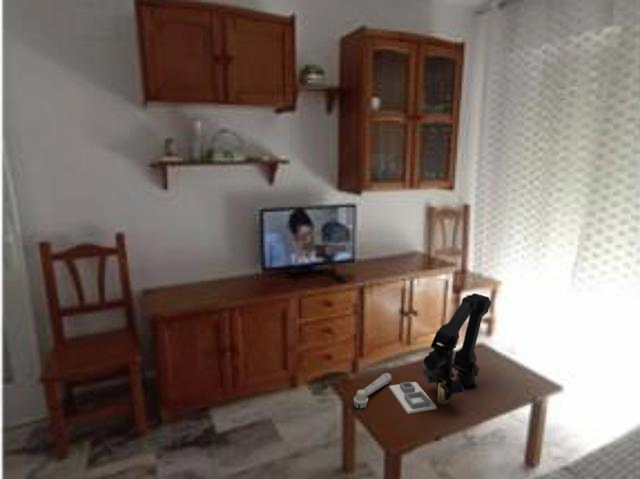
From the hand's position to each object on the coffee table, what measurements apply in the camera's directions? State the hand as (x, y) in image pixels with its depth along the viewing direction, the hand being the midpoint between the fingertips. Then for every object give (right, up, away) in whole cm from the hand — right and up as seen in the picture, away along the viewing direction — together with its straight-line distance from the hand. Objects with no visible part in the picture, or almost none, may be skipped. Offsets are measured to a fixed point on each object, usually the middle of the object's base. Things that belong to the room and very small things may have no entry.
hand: (443, 396), depth 175 cm
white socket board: (-12, -2, +3) cm, 12 cm away
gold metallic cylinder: (0, -2, +1) cm, 2 cm away
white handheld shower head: (-27, -2, +6) cm, 28 cm away
